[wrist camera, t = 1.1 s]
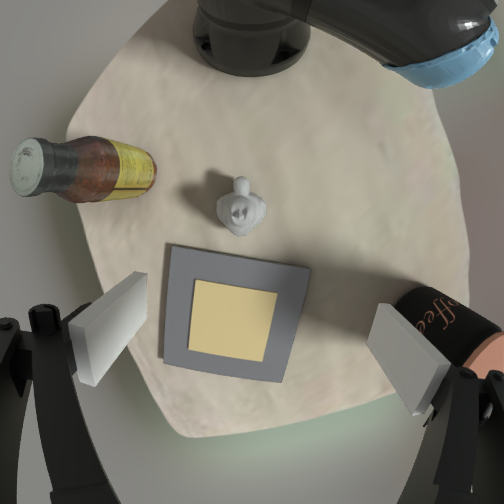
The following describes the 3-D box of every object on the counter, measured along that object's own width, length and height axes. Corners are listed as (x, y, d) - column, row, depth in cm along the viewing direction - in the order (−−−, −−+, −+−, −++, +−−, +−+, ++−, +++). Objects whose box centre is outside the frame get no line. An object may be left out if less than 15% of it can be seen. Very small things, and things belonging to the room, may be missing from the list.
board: (174, 244, 34) (171, 246, 33) (309, 267, 35) (311, 270, 33) (165, 359, 37) (162, 364, 36) (281, 378, 38) (281, 384, 37)
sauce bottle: (137, 140, 32) (35, 96, 12) (168, 171, 32) (76, 146, 13) (105, 178, 32) (-8, 172, 13) (135, 210, 33) (26, 228, 14)
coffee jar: (444, 279, 35) (526, 323, 18) (435, 340, 37) (499, 399, 20) (387, 289, 35) (467, 350, 18) (381, 354, 37) (438, 431, 20)
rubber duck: (218, 233, 34) (209, 243, 26) (219, 178, 33) (210, 172, 25) (263, 234, 34) (267, 245, 26) (265, 179, 33) (269, 173, 25)
